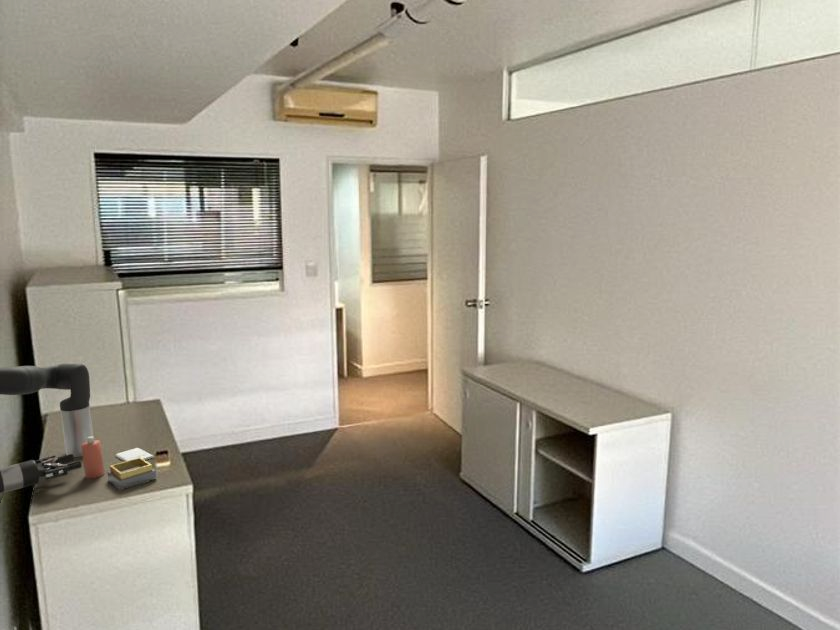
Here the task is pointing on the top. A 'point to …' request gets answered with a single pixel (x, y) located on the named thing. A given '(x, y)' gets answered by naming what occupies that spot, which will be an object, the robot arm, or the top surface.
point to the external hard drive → (133, 455)
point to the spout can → (92, 458)
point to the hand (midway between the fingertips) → (76, 460)
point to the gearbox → (131, 473)
